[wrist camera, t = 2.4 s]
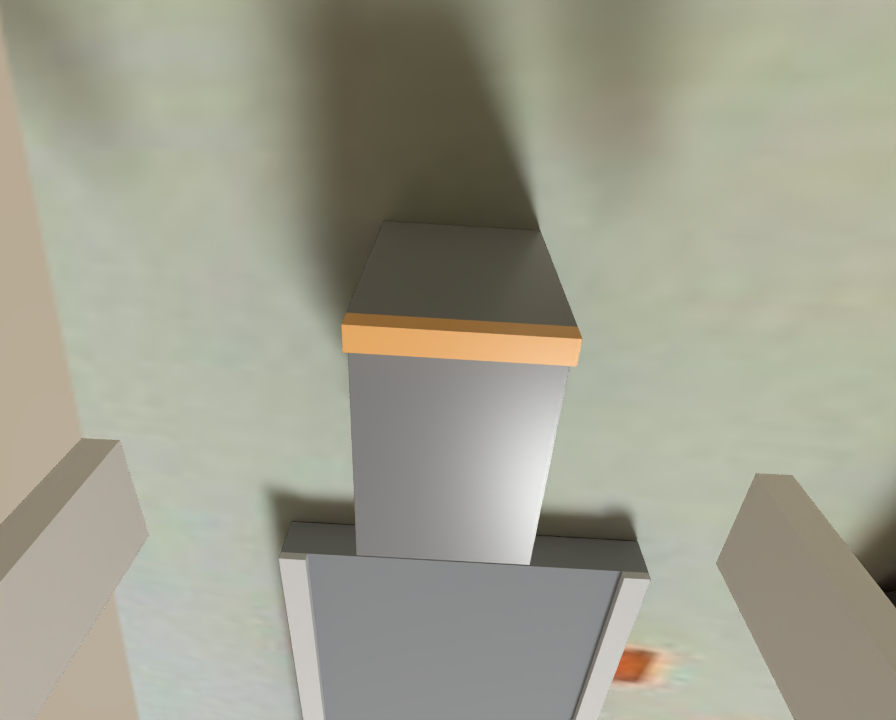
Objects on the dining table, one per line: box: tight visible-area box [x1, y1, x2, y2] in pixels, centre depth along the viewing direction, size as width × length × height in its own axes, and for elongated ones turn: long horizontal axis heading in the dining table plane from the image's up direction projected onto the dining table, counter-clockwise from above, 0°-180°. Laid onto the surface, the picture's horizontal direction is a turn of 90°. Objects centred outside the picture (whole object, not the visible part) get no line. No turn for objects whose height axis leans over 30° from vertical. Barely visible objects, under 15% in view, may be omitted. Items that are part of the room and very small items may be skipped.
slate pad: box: [279, 522, 651, 720], centre depth 27 cm, size 20×14×2 cm
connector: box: [341, 221, 582, 565], centre depth 15 cm, size 10×4×6 cm, turn 177°
